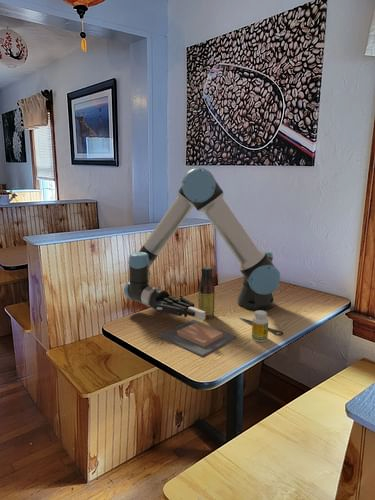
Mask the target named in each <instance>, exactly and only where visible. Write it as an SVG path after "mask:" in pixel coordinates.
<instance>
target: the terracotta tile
mask: <svg viewBox="0 0 375 500" xmlns="http://www.w3.org/2000/svg"><path fill="white" fill-rule="evenodd" d="M177 335H178V336H180V337H182V338H184V339H187V340H189V341H191V342H193V343H196V344H198V345H200V346H203V347H205V346H207V345H209V344H210V343H212V342H214V341H216V340H218V339H220V338H222V337H223V332H220V331H218V330H215V329H212V328H210V327H207V326H205V325H202V324H200V323H197V322H196V323H194V324H192V325H190V326H187V327H185V328H183V329H181V330H178V331H177Z"/></svg>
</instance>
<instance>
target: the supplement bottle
mask: <svg viewBox="0 0 375 500" xmlns="http://www.w3.org/2000/svg"><path fill="white" fill-rule="evenodd" d="M254 311H255V312H254V317H252V320H251V321H252V327H251V339H252V340H253V341H255V342H258V343H263V342H264V343H265V342H266V341H267V340H268V336H269V335H268V334H269V331H268V328H269V322H270V321H269V318H267V317H268V313H267V311H266V310H254Z"/></svg>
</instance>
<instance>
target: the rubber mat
mask: <svg viewBox="0 0 375 500" xmlns="http://www.w3.org/2000/svg"><path fill="white" fill-rule="evenodd" d="M196 322H197V323H200V324H202V325H205V326H207V327H210V328H212V329H215V330H218V331H220V332H223V337H222V338H220V339H218V340H216V341H214V342H212V343H210V344H209V345H207V346H205V347H203V346H200V345H198V344H196V343H193V342H191V341H189V340H187V339H184V338H182V337H180V336H178V335H177V331H178V330H181V329H183V328H185V327H187V326H190V325H192V324H194V323H196ZM158 337H159V338H161V339H163V340H165V341H168V342H170V343H172V344H173V345H177V346H179V348H180V347H181V348H182V349H185V350H187V351H189V352H191V353H194V354H196V355H198V356H200V357H202V358H203V357H205V356H206V355H208V354H210V353H213V352H214V351H215V350H218V349H219V348H221V347H223V346H225V345H226V344H228V343H230V342H232V341H233V340H236V339H237V337H238V336H237V335H234V334H232V333H229V332H227V331H224V330H222V329H220V328H216V327H214V326H211V325H209V324H206V323H204V322H201V321H198V320H195V319H192V320H191V319H190V320H189V321H186V322H185V323H182V324H180V325H177V326H175V327H173V328H171V329H168V330H165V331H164V332H161V333H158Z"/></svg>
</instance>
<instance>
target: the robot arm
mask: <svg viewBox="0 0 375 500" xmlns="http://www.w3.org/2000/svg"><path fill="white" fill-rule="evenodd" d="M194 207H195V209H196V211H198V212H200V213H201V212H202V213H204V215H205V216H206V218H207V219H208V220H209V222H210V224H211V225H212V226H213V227H214V229H215V230H216V231H217V233H218V235H219V236H220V237H221V239H222V240H223V242H224V243H225V244H226V246H227V247H228V249H229V250H230V252H231V253H232V254H233V256H234V257H235V259H236V260H237V262H238V263H239V265H238V269H239V272H240V273H241V274H242V286H241V289H240V291H239V294H238V296H237V304H238V305H239V306H240V307H242V308H244V309H248V310H252V311H253V310H254V311H258V310H262V311H266V310H270V309H271V308H273V307H274V305H275V300H274V296H273V293H275V291H276V290H277V289H278V288H279V286H280V284H281V274H280V271H279V269H278V268H277V267H276V266H275V264H274V263H273V259H274V257H273V253H272V252H271V251H266V250H259V248H258V247H257V246H256V244H255V243H254V241H253V240H252V238H251V237H250V235H249V234H248V233H247V231H246V230H245V229H244V227H243V226H242V224H241V223H240V221H239V220H238V218H237V216H236V215H235V214H234V212H233V211H232V210H231V208H230V206H229V205H228V204H227V202H226V201H225V199H224V191H223V189H222V188H221V186H220V184H219V183H218V182H217V180H216V179H215V177H214V175H213V173H212V172H211V171H209V170H208V169H206V168H204V167H194V168H191V169H189V170H188V171H187V172H186V173H185V174H184V175H183V178H182V180H181V187H180V188H179V190H178V191H177V196H176V198H175V199H174V200H173V203H172V204H171V205H170V206H169V208H168V209H167V211H166V212H165V214H164V216H163V217H162V218H161V220H160V221H159V222H158V224H157V225H156V226H155V228H153V229H154V230H153V231H152V232H151V234H150V236H148V238H147V239H146V241H145V242H144V244H143V245H142V247H141V248H140V250H138V251H136V252H135V251H133V252H131V253H130V254H129V256H128V271H129V274H128V276H129V280H128V282H126V284H125V285H124V288H123V293H124V295H125V297H126V298H128V299H129V300H131V301H133V302H137V303H140V304H142V305H145V306H146V307H147V306H148V307H149V308H152V309H154V310H156V312H157V313H166V314H169V315H174V316H179V317H182V316H183V315H184V316H183V318H187V317H188V316H189V317H192V318H194V319H198V320H200V321H204V320H206V318H205V311H202V310H199V309H198V308H197V307H195V303H193V302H191V301H190V300H188V299H186V298H184V296H182V295H180V296H179V297H178V298H176V297H175V296H172V295H170V294H169V292H168V291H166V290H164V289H161V288H158V287H155V286H153V285H149V284H150V280H149V279H150V278H149V277H150V275H149V274H150V273H149V272H150V268H151V267H152V265H153V263H154V262H155V260H156V259H157V257H159V255H160V253H161V252H162V250H164V248H165V247H166V245H167V244H168V243H169V241H170V240H171V238H172V237H173V235H174V234H175V233H176V231H177V230H178V228H179V227H180V226H181V224H182V223H183V222H184V220H185V219H186V218H187V216H188V215H189V213H190V212H191V211H192V210H193V208H194Z"/></svg>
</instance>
